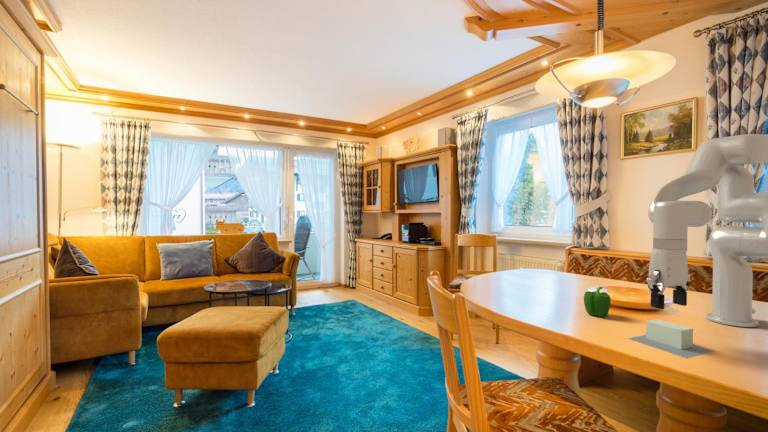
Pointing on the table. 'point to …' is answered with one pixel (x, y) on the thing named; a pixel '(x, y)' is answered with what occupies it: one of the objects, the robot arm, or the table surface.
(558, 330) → the table surface
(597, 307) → the bell pepper
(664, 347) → the card
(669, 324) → the sage block
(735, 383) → the table surface
